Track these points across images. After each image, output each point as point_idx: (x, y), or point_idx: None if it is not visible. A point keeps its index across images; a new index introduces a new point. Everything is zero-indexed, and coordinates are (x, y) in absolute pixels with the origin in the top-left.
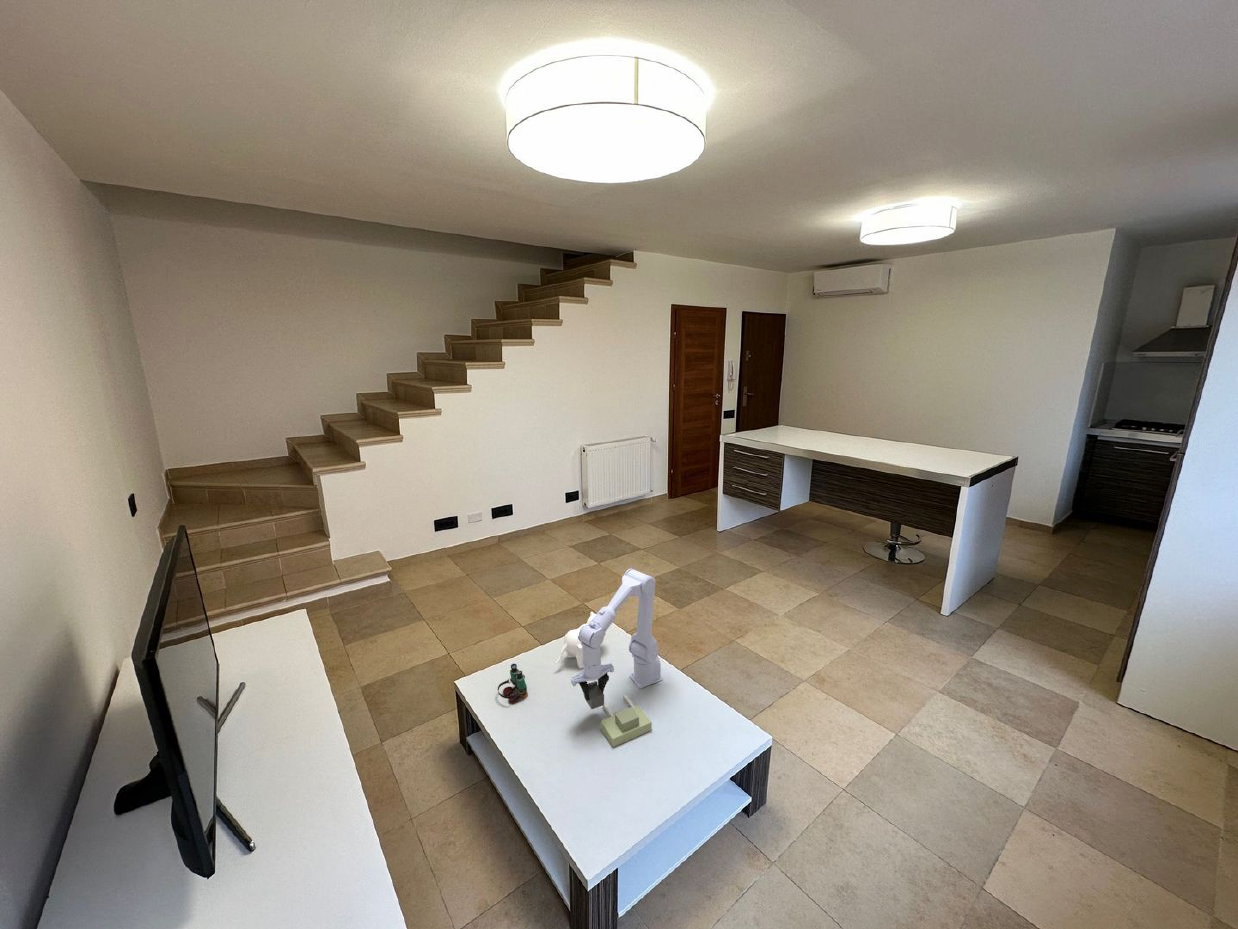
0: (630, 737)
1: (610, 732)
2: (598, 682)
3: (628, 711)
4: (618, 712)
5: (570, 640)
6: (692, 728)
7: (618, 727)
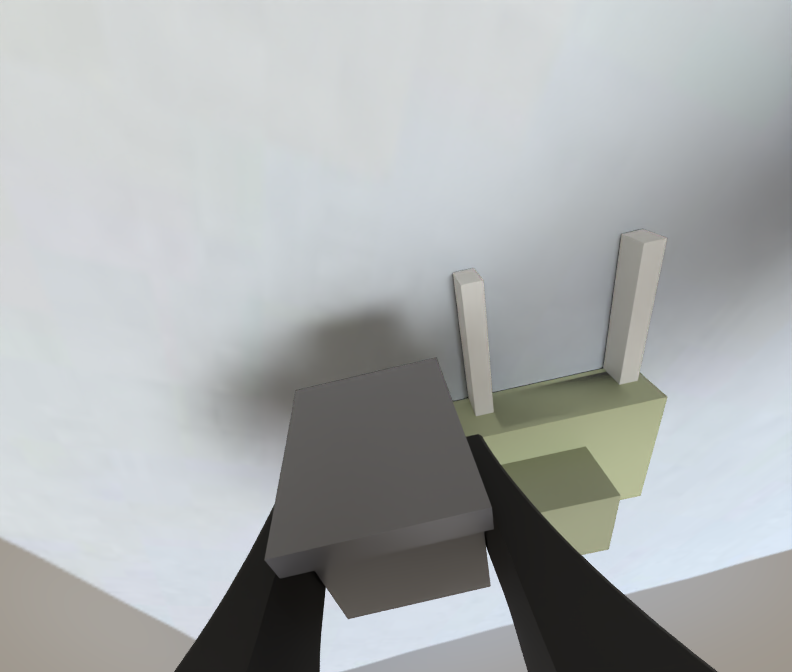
0: None
1: None
2: (507, 554)
3: (582, 519)
4: None
5: None
6: (752, 472)
7: None
